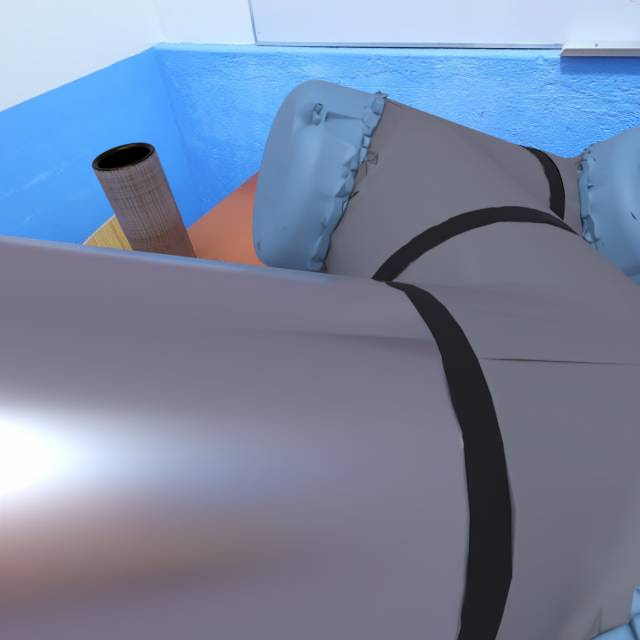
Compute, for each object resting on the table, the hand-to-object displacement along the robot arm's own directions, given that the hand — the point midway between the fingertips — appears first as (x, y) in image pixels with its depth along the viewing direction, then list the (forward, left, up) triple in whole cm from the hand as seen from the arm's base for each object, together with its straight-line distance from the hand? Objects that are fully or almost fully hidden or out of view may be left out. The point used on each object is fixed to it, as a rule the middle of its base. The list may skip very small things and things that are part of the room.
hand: (322, 346), depth 53 cm
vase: (+1, +45, -16) cm, 48 cm away
